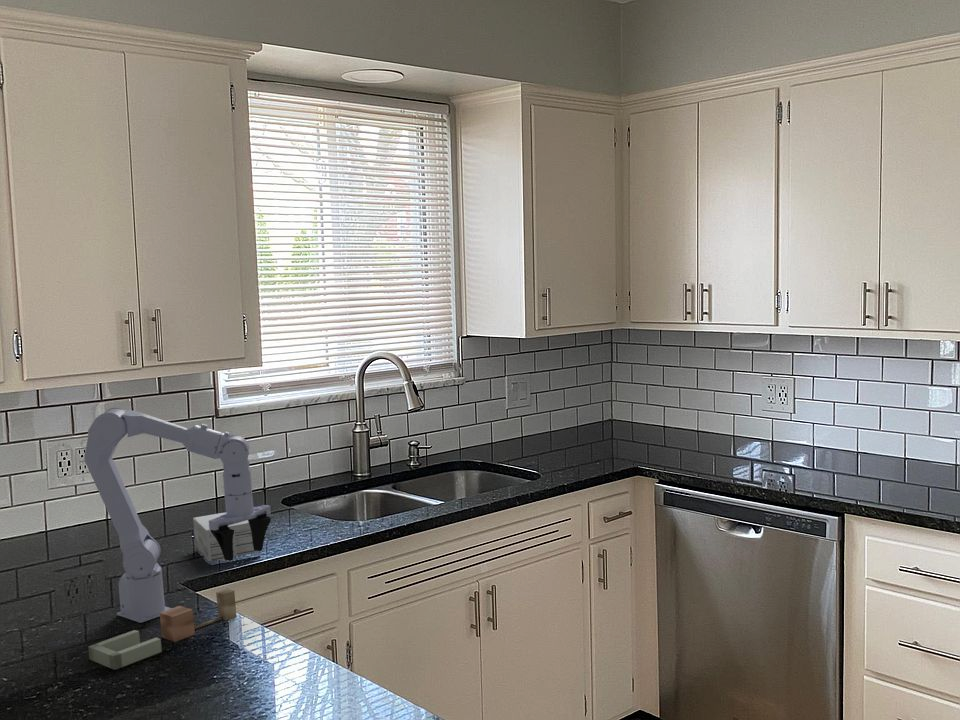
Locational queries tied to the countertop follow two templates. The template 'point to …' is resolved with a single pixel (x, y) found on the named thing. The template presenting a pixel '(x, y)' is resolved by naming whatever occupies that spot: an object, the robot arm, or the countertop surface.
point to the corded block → (181, 619)
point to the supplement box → (210, 544)
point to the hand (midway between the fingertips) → (243, 554)
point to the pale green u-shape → (123, 650)
